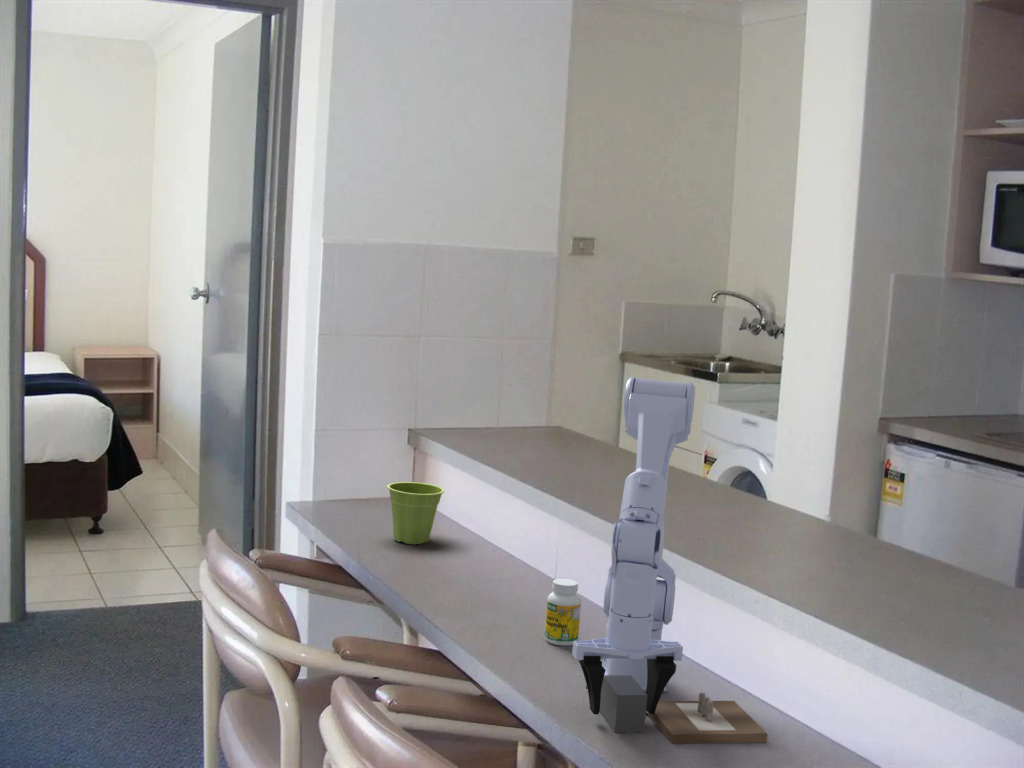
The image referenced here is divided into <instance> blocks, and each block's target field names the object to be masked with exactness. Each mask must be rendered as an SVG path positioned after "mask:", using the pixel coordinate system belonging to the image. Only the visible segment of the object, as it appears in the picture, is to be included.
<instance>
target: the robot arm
mask: <svg viewBox="0 0 1024 768" xmlns="http://www.w3.org/2000/svg"><path fill="white" fill-rule="evenodd" d="M695 396H696V386H695V385H694V383H693V382H691V381H688V382H681V381H680V382H679V381H669V380H660V379H648V378H641V377H640V378H638V377H636V376H630V378H628V379H627V381H626V385H625V389H624V401H623V416H624V428H626V435H628V436H629V437H631V438H633V439H635V440H636V441H637V444H636V448H637V449H636V461H635V462H636V463H635V470H634V471H633V472H632V473H630V474H629V475H628V476H626V478H625V481H624V487H623V494H622V499H621V500H622V501H621V506H620V512H619V519H618V522H615V523H614V525H613V530H612V533H611V534H612V535H611V544H610V545H611V546H610V555H611V565H610V566H609V567H608V574H607V578H606V582H605V587H604V588H605V589H604V596H603V612H604V614H605V616H606V617H607V618H608V622H607V623H606V626H605V632H604V637H602V638H595V639H588V640H578V641H573V645H572V649H571V652H572V653H571V655H572V657H573V658H574V660H576V661H578V662H579V665H580V668H581V671H582V673H583V676H584V677H583V678H584V681H585V683H586V685H587V689H588V690H587V689H586V690H587V693H588V701H589V710H590V711H591V713H592V714H593V715H600V712H599V711H600V700H601V688H602V683H603V678H604V675H631V676H632V677H633V679H634V680H635V681H636V682H637V683H638V684H639V686H640V687H641V688H642V689H643V690H644V692H645V693H646V694H647V695H648V696H647V707H646V710H647V711H648V712H649V714H655V710H656V707H657V704H658V702H659V701H660V699H661V697H662V694H663V692H666V691H667V689H668V688H667V685H668V683H669V681H670V680H671V678H672V677H673V676H674V675H675V674H676V671H677V664H676V663H675V662H674V661H676V662H677V661H682V660H683V651H684V646H683V645H682V644H681V643H679V641H671V640H670V641H667V640H662V634H663V628H664V627H663V626H664V625H667V626H668V625H669V624H671V622H672V621H673V615H674V608H675V607H674V605H675V597H676V576H677V575H676V572H675V569H674V568H673V567H672V566H671V565H669V564H668V562H666V560H664V559H663V553H664V544H665V524H664V523H665V510H666V509H665V508H666V501H667V493H668V476H669V468H670V459H671V457H672V454H673V452H674V450H675V448H676V445H679V444H681V443H684V442H688V440H689V439H688V438H689V435H690V434H691V429H692V428H691V427H692V422H693V417H694V416H693V415H694V408H695V399H696V398H695ZM657 578H661V579H657ZM662 579H663V580H662ZM601 659H602V660H601Z"/></svg>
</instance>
